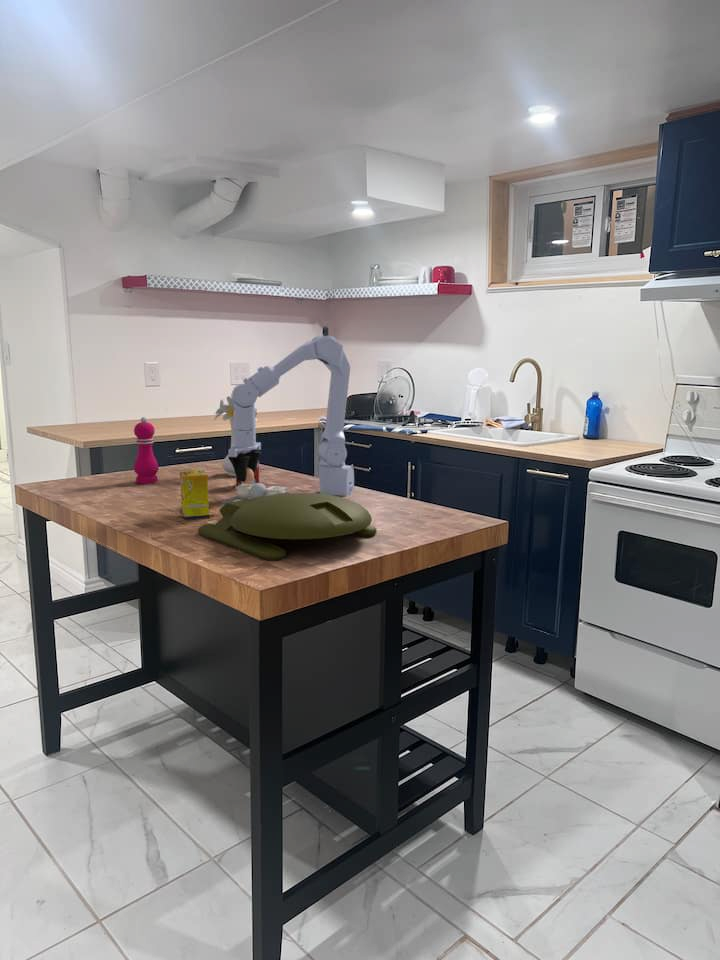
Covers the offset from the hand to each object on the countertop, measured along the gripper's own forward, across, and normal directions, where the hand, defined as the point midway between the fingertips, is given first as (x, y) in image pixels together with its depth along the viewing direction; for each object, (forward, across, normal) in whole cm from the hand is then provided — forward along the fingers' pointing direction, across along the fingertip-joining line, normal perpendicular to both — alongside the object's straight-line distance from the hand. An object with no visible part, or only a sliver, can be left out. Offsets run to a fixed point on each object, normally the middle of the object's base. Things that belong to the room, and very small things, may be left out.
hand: (245, 479), depth 189 cm
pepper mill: (+6, -12, -40) cm, 43 cm away
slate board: (+6, +2, +4) cm, 7 cm away
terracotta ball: (-1, 0, 0) cm, 1 cm away
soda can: (+6, -14, -7) cm, 17 cm away
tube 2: (+5, 0, +9) cm, 10 cm away
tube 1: (+5, 0, 0) cm, 5 cm away
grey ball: (+3, +2, +4) cm, 5 cm away
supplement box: (+6, +20, -4) cm, 21 cm away
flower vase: (+6, -33, -20) cm, 39 cm away
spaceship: (+6, +28, +27) cm, 40 cm away
